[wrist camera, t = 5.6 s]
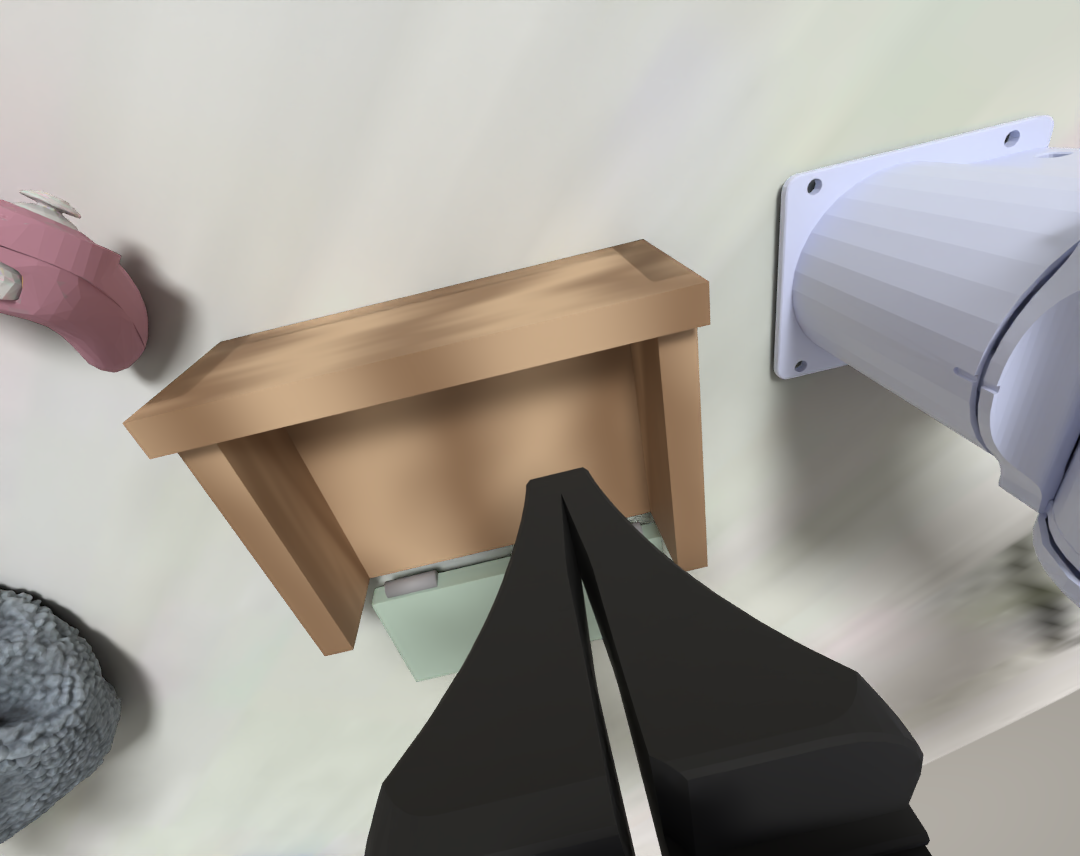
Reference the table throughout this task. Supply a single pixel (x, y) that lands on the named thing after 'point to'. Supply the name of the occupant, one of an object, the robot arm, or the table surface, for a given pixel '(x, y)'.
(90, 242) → the video game controller
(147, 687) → the table surface
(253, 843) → the table surface
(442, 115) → the table surface
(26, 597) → the koala plush
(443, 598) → the panel
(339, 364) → the crate
